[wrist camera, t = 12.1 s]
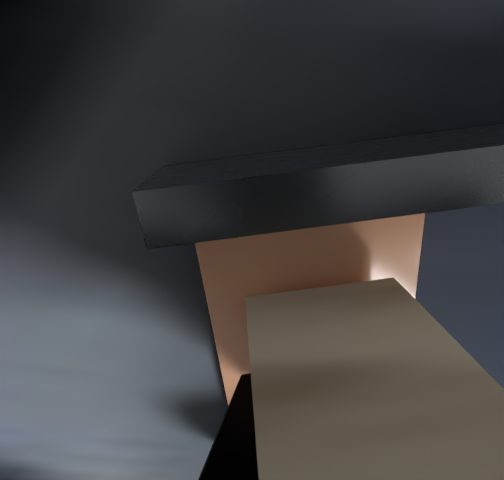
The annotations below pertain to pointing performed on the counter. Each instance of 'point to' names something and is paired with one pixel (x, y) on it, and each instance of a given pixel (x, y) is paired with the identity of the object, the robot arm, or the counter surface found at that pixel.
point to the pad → (299, 272)
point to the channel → (322, 186)
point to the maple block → (367, 389)
